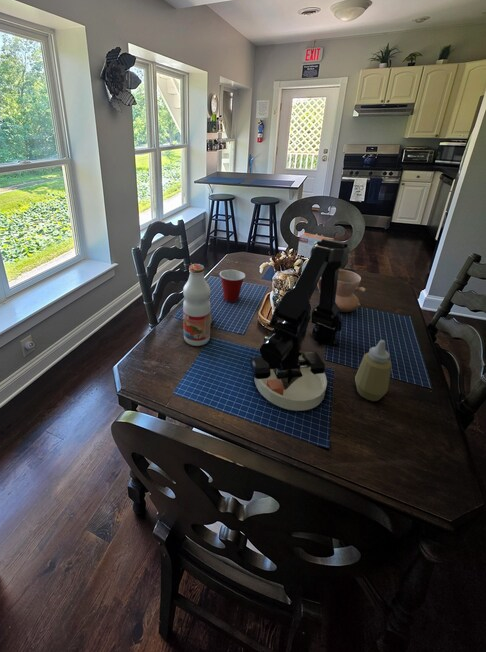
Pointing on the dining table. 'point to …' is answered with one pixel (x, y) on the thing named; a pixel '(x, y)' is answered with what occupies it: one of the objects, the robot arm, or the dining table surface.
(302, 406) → the bowl
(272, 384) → the terracotta block
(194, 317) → the fruit juice
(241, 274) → the plastic cup
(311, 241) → the cracker box
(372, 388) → the squeeze bottle
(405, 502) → the dining table surface
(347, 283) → the ceramic jug
